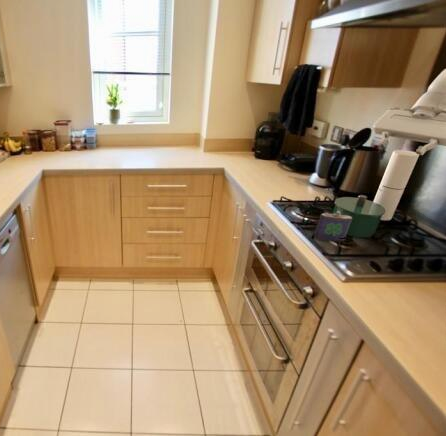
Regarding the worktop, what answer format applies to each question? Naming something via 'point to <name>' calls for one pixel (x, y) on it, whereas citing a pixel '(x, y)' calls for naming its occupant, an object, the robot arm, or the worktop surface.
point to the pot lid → (360, 206)
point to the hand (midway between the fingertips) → (399, 149)
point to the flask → (332, 227)
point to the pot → (360, 223)
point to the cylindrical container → (395, 181)
